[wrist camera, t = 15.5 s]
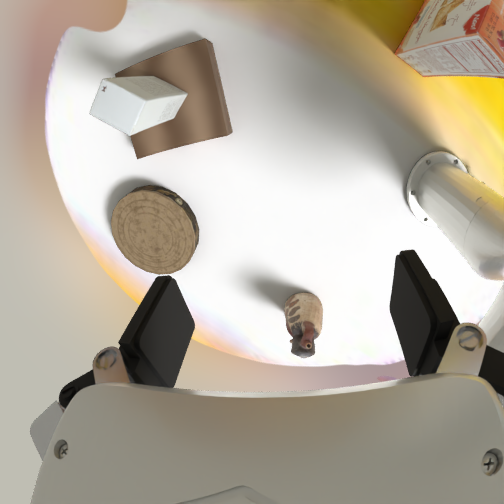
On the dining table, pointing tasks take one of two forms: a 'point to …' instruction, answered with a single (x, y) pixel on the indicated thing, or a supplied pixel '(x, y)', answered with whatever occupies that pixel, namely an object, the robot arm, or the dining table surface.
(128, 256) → the wood slice coaster
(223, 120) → the walnut base
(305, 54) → the dining table surface
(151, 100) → the skincare box
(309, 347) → the figurine
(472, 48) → the cracker box
